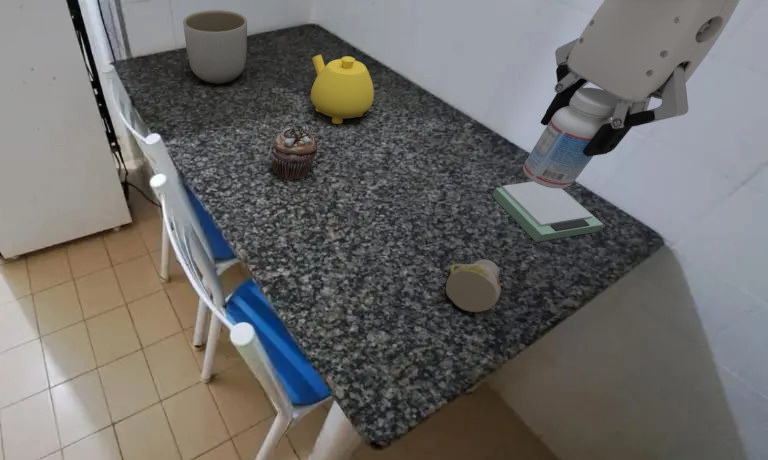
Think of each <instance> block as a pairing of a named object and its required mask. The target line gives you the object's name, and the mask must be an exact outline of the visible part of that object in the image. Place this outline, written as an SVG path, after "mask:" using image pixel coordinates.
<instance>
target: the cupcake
mask: <svg viewBox="0 0 768 460" xmlns="http://www.w3.org/2000/svg"><path fill="white" fill-rule="evenodd" d="M316 140H317V139H316V138H315V137H314V136H313V134H312V133H310V129H309V126H308V125H307V124H303V125H301V126H298V127H297V128H295V126H294V125H292V124H290V125H289V127H287V128H284V130H283V131H282V132H280V133H279V134H277V135H276V136H275V138H274V141H273V142H272V144H271V145H270V147H269V154H270V159H271V164H272V170H273V173H275V175H276V176H277V177H279V178H281V179H284V180H289V181H293V180H300V179H302V178H305V177H307V175H308V174H309V172H310V170H311V168H312V165H313V163H314V160H315V159H316V155H317V153H318V142H317V141H316Z"/></svg>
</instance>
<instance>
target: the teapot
mask: <svg viewBox="0 0 768 460" xmlns="http://www.w3.org/2000/svg"><path fill="white" fill-rule="evenodd" d="M311 60H312V64H313V66H314V70H315V72H316V73H315V74H316V78H315V81H314V82H313V85H312V87H311V90H310V95H309V96H310V101H311V103H312V104H313V106H314V107H315V111H316V112H318V113H321V114H323V115H325V116H328V117H330V118H331V122H332V124H335V125H341V124H342V123H343V122H344V120H345V119H353V118H361V117H363V115H364V114H365V112H367V111H368V110H369V109H370V108H371V107H372V105H373V102H374V96H375V91H374V89H375V88H374V84H373V81H372V78H371V75H370V71H369V70H368V68H367V67H366V65H365V64H363V63H362V62H361V61H358V60H356V58H355V57H353V56H349V55H348V56H347V55H345V56H342V57H341V58H338V59H333V60H331V61H329V62H328V63H326V65H325V62H324V59H323V55H322V54H317V55H315V56H313V57H311Z"/></svg>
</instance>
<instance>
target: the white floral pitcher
mask: <svg viewBox="0 0 768 460" xmlns="http://www.w3.org/2000/svg"><path fill="white" fill-rule="evenodd" d="M499 277H500V268H499V266H498V265H497V264H496V263H495V262H493V261H491V260H489V259H486V258H485V259H478V260H476V261H475V262H474V263H467V264H464V263H454V264H452V265H451V266H450V267H449V276H448V278H447V280H446V283H445V292H446V295H447V297H448V298H449V299H450V300H451V302H452V303H453V304H454V306H456V307H457V308H459V309H460V310H463V311H465V312H466V311H467V312H470V313H479V312H480V313H481V312H485V311H488V310H489V311H490V310H491V309H492V308H493V307H494V306H495V305H496V304H497V302H498V301H499V299H500V297H501V292H502V287H501V282H500V279H499Z"/></svg>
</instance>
